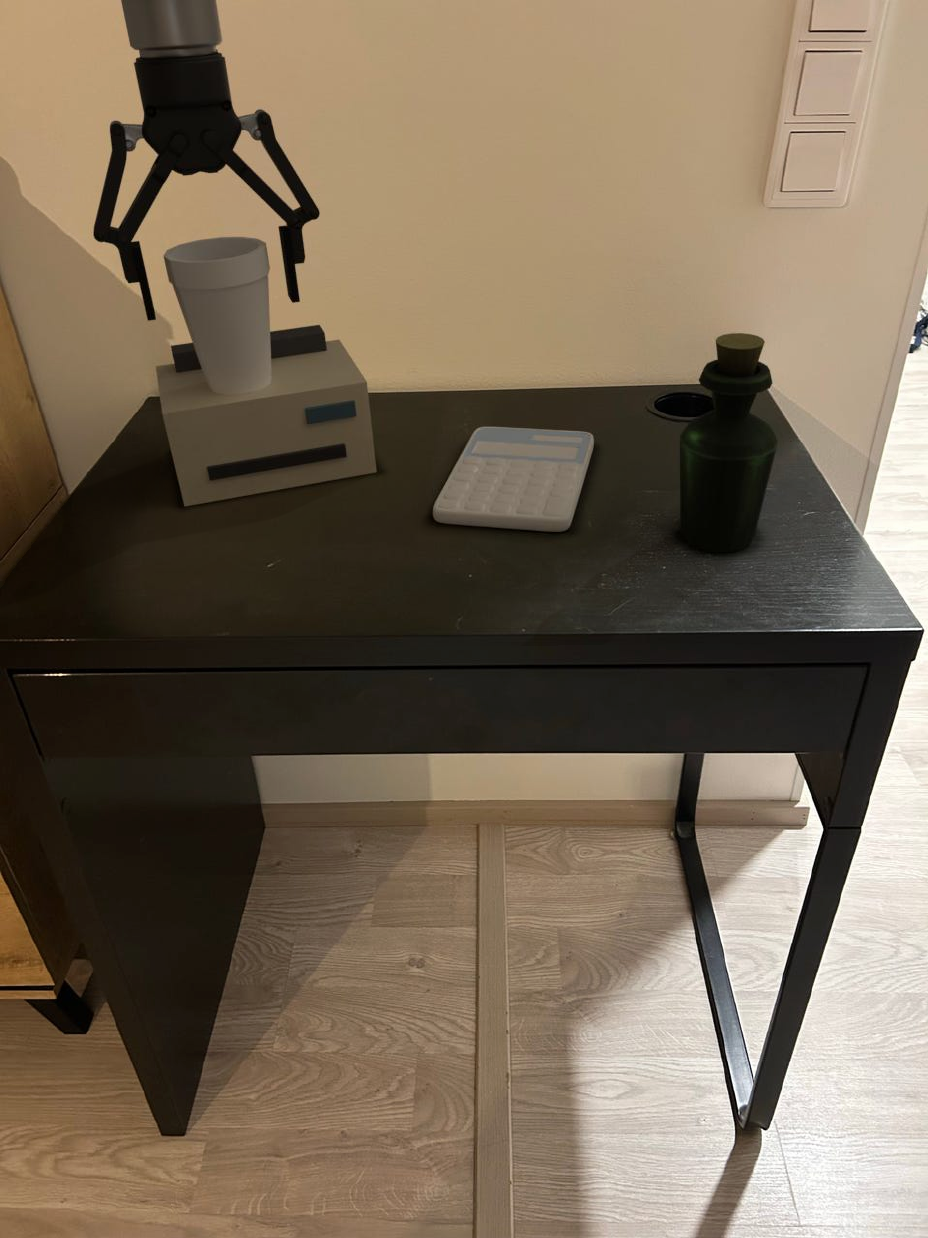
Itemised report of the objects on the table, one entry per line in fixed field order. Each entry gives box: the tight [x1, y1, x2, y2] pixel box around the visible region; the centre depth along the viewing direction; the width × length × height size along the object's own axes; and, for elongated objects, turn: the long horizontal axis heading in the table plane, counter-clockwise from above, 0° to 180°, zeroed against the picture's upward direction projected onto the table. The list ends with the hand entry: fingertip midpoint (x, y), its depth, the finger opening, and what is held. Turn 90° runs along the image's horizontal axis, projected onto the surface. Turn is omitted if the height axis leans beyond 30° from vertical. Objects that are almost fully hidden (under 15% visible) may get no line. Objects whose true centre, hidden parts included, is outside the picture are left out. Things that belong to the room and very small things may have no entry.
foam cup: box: [163, 236, 272, 395], centre depth 93 cm, size 10×9×13 cm
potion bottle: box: [679, 332, 779, 553], centre depth 82 cm, size 8×8×18 cm
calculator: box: [432, 426, 595, 533], centre depth 97 cm, size 13×20×2 cm, turn 167°
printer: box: [155, 324, 377, 507], centre depth 101 cm, size 20×14×12 cm
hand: (223, 307), depth 92 cm, fingers open, 13 cm apart
